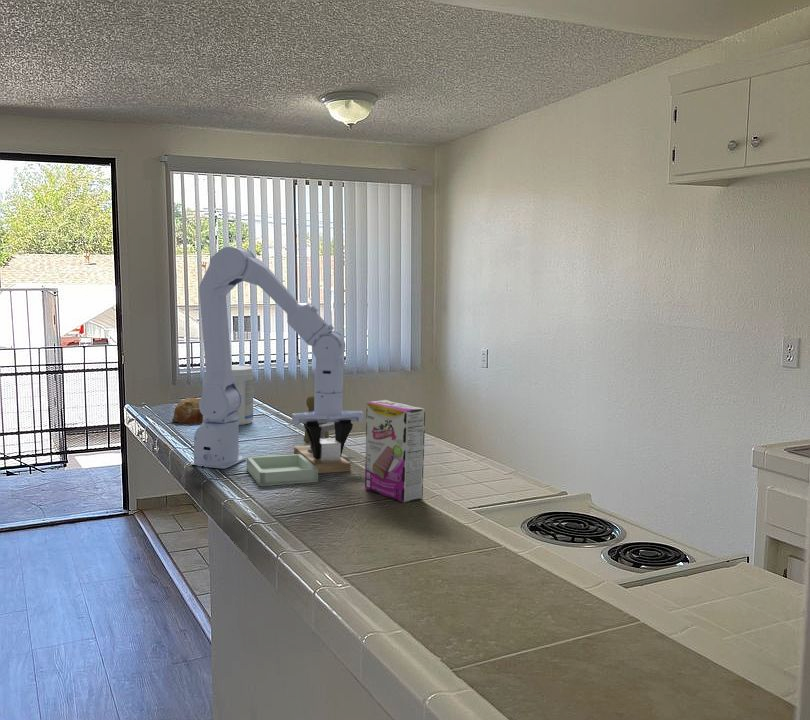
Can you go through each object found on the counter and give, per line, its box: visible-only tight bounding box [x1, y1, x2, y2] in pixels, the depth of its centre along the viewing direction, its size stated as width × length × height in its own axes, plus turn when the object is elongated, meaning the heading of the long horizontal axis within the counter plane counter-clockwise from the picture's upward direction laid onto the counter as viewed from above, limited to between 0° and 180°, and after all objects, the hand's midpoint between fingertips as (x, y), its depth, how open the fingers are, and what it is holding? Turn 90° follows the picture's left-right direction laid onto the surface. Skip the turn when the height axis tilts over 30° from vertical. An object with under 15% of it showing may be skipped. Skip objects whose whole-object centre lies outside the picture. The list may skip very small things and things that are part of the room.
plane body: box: [293, 445, 352, 474], centre depth 159 cm, size 18×7×2 cm, turn 23°
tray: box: [246, 453, 319, 487], centre depth 147 cm, size 13×11×2 cm
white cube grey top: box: [317, 437, 342, 463], centre depth 155 cm, size 5×4×4 cm
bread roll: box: [172, 397, 203, 425], centre depth 201 cm, size 10×10×8 cm
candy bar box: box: [364, 399, 426, 504], centre depth 136 cm, size 11×5×16 cm, turn 41°
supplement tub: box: [231, 365, 254, 426], centre depth 199 cm, size 10×10×15 cm
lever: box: [309, 422, 335, 449], centre depth 165 cm, size 12×3×5 cm, turn 149°
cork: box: [303, 394, 330, 443], centre depth 180 cm, size 6×6×11 cm
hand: (327, 457), depth 155 cm, fingers closed on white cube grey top, 4 cm apart
